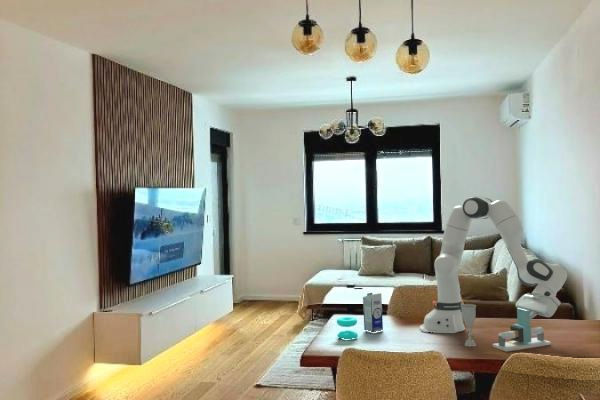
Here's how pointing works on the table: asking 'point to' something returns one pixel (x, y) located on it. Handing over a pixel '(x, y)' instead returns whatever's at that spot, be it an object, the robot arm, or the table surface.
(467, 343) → the chalice
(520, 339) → the dark gray block
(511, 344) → the pipe stand
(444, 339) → the table surface
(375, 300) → the milk carton
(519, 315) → the teal notched saddle block
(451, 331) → the robot arm
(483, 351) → the table surface
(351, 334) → the donuts
